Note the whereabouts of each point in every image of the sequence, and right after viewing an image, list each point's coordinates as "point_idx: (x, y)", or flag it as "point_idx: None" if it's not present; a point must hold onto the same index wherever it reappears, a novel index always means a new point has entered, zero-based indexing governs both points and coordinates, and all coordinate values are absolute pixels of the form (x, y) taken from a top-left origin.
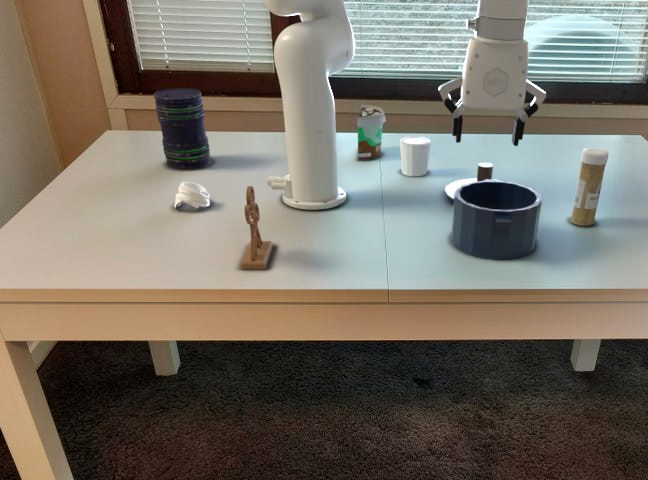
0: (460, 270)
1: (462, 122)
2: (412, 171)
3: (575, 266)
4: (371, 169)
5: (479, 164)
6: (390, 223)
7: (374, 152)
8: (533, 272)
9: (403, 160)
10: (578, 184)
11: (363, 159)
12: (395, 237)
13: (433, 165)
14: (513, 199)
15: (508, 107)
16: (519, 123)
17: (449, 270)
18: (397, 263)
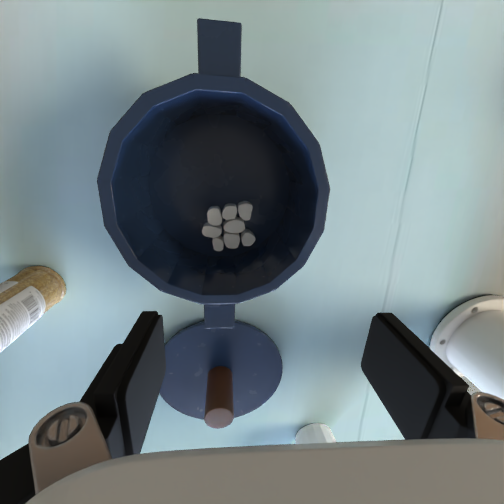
0: (298, 51)
1: (429, 373)
2: (321, 430)
3: (57, 69)
4: (371, 436)
5: (231, 418)
6: (383, 257)
7: None
8: (151, 37)
9: None
10: (6, 325)
11: None
12: (386, 202)
13: None
14: (174, 267)
15: (177, 470)
16: (109, 387)
17: (319, 52)
18: (407, 87)
